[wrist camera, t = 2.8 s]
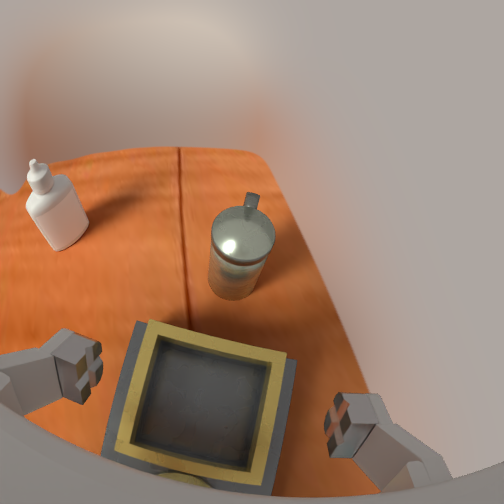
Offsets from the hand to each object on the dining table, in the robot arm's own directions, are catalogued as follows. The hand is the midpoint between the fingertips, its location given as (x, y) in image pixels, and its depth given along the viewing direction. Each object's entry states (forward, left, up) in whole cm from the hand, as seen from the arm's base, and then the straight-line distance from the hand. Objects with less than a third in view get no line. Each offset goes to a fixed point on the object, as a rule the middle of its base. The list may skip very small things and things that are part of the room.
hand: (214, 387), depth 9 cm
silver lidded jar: (0, +13, -19) cm, 23 cm away
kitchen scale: (0, -5, -19) cm, 19 cm away
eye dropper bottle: (-20, +13, -19) cm, 30 cm away
